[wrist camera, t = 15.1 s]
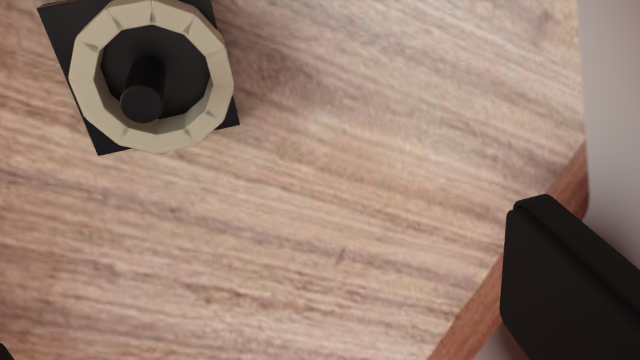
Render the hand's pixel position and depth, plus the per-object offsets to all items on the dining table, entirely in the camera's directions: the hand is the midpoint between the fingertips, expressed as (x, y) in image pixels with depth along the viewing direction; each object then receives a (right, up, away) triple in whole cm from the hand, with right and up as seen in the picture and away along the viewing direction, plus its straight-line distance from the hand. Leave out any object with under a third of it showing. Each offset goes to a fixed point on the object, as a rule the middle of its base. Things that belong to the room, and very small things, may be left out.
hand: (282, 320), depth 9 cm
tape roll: (-9, +9, +20) cm, 24 cm away
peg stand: (-10, +10, +21) cm, 25 cm away
